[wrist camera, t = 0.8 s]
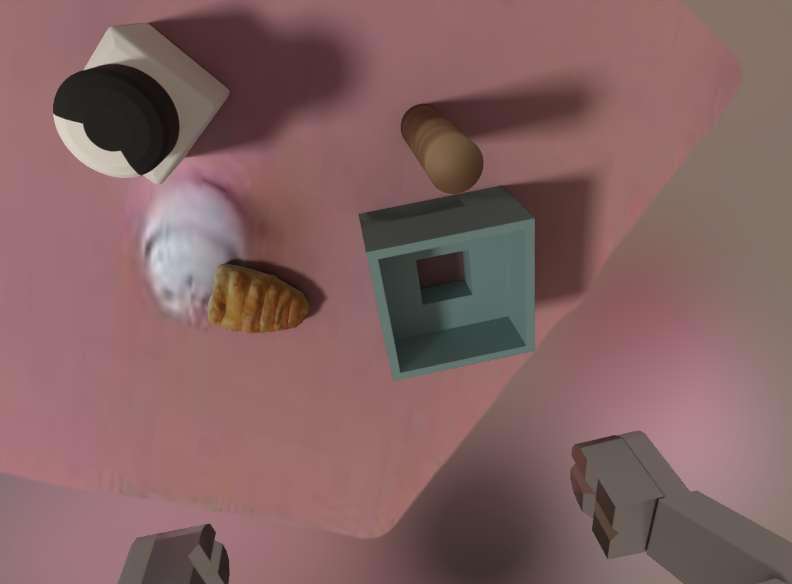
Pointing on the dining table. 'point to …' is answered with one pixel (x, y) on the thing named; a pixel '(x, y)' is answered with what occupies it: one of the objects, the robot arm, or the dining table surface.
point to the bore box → (457, 301)
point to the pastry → (254, 301)
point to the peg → (442, 149)
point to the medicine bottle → (136, 105)
